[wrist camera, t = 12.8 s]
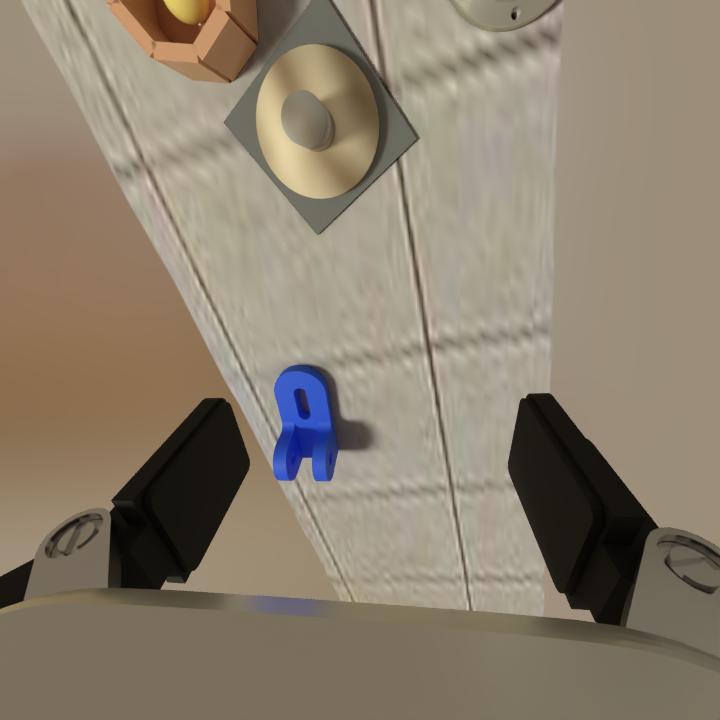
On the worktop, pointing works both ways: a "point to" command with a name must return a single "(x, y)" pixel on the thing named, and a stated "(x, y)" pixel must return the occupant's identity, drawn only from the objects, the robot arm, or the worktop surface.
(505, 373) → the worktop surface
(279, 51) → the mat
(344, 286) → the worktop surface
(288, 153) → the lid
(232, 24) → the bowl
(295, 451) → the bracket
